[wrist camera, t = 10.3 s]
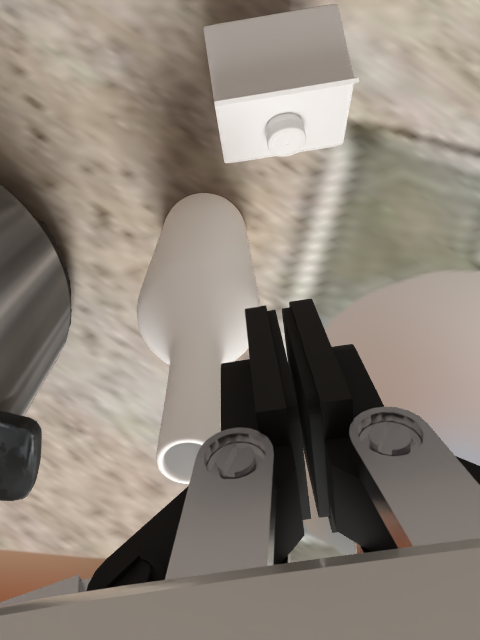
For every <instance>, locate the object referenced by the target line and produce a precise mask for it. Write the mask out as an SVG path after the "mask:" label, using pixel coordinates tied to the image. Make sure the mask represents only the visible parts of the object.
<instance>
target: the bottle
mask: <svg viewBox="0 0 480 640" xmlns="http://www.w3.org/2000/svg"><path fill="white" fill-rule="evenodd" d="M253 307H260V300H259V295H258V290H257V284H256V279H255V274H254V268H253V263H252V258H251V252H250V247H249V242H248V236H247V231H246V226H245V222H244V220H243V217H242V215H241V214H240V212H239V211H238V209H237V208H236V207H235V206H234V205H233V204H232V203H231V202H230V201H228V200H227V199H225V198H223V197H221V196H218V195H215V194H210V193H198V194H193V195H190V196H187V197H185V198H183V199H182V200H180V201H179V202H177V203H176V204H175V205H174V207H173V208H172V209H171V210H170V212H169V214H168V215H167V217H166V220H165V222H164V225H163V228H162V231H161V234H160V237H159V239H158V242H157V245H156V248H155V251H154V254H153V256H152V259H151V262H150V265H149V268H148V271H147V273H146V276H145V279H144V282H143V285H142V288H141V291H140V294H139V298H138V305H137V317H138V326H139V329H140V332H141V335H142V337H143V338H144V340H145V342H146V343H147V345H148V346H149V348H150V349H151V350H152V351H153V352H154V353H155V354H156V356H158V357H159V358H160V359H161V360H163V361H164V362H165V363H167V364H168V365H170V368H169V376H168V383H167V390H166V397H165V403H164V410H163V416H162V422H161V428H160V435H159V441H158V448H157V455H156V460H157V465H158V468H159V470H160V471H161V472H162V474H164V475H165V476H166V477H167V478H169V479H170V480H173V481H175V482H179V483H185V484H189V483H190V479H191V475H192V471H193V467H194V463H195V459H196V455H197V453H198V451H199V449H200V447H201V446H202V445H203V444H204V442H205V441H206V440H207V439H209V438H210V437H212V436H213V435H215V434H216V433H218V432H220V372H221V363H228V362H234V361H235V360H236V359H238V358H239V357H240V356H241V355H242V354H243V353H244V352H245V351H246V350H247V349H248V347H249V346H248V337H247V327H246V318H245V309H247V308H253Z"/></svg>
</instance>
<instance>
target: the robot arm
mask: <svg viewBox="0 0 480 640" xmlns="http://www.w3.org/2000/svg"><path fill="white" fill-rule="evenodd" d="M289 305H290V308H284V309H282V316H283V324H284V332H285V341H286V349H287V357H288V362H287V357H286V353H285V349H284V345H283V340H282V336H281V332H280V328H279V323H278V319H277V315H276V311H275V310H271V311H267V309H266V306H260V307H253V308H247V309H245V318H246V327H247V337H248V346H249V356H250V359H248V360H241V361H235V362H228V363H221V432H218V433H216V434H215V435H213V436H212V437H210V438H209V439H207V440H206V441H205V442H204V444H203V445H202V446H201V447H200V449H199V451H198V453H197V455H196V459H195V463H194V467H193V471H192V475H191V479H190V483H189V486H188V487H187V488H186V489H185V490H184V491H182V492H181V493H180V494H179V495H178V496H177V497H176V498H175V499H173V500H172V501H171V502H170V503H169V504H168V505H167V506H166V507H165V508H163V509H162V510H161V511H160V512H159V513H158V514H157V515H156V516H154V517H153V518H152V519H151V520H150V521H149V522H148V523H147V524H145V525H144V526H143V527H142V528H141V529H140V530H139V531H138V532H136V533H135V534H134V535H133V536H132V537H131V538H130V539H129V540H127V541H126V542H125V543H124V544H123V545H122V546H121V547H120V548H118V549H117V550H116V551H115V552H114V553H113V554H112V555H111V556H109V557H108V558H107V559H106V560H105V561H104V562H103V564H102V565H101V566H100V567H99V568H98V569H97V570H96V571H95V573H94V575H93V577H91V578H88V579H85V580H81V578H80V577H79V575H77V576H74V577H71V578H68V579H65V580H62V581H59V582H57V583H54V584H51V585H48V586H45V587H43V588H40V589H37V590H34V591H32V592H29V593H26V594H23V595H20V596H17V597H15V598H12V599H9V600H6V601H3V602H0V640H480V466H478V465H476V464H473V463H471V462H468V461H466V460H463V459H461V458H459V457H456V456H455V455H454V454H453V453H452V452H451V451H450V450H449V448H448V447H447V446H446V445H445V444H444V442H443V441H442V440H441V439H440V438H439V437H438V435H437V434H436V433H435V432H434V431H433V429H432V428H431V427H430V426H429V425H428V424H427V423H426V422H425V421H424V420H423V419H422V418H421V417H420V416H418V415H416V414H414V413H412V412H410V411H408V410H404V409H400V408H396V407H384V405H383V404H382V401H381V399H380V397H379V395H378V393H377V391H376V389H375V387H374V385H373V383H372V381H371V379H370V377H369V375H368V373H367V371H366V369H365V367H364V365H363V363H362V361H361V359H360V357H359V355H358V352H357V351H356V349H355V347H354V345H352V344H350V345H342V346H335V347H331V345H330V342H329V340H328V337H327V335H326V332H325V330H324V327H323V325H322V323H321V320H320V318H319V315H318V313H317V310H316V308H315V305H314V303H313V301H312V299H306V300H299V301H293V302H290V303H289ZM288 365H289V366H288ZM303 450H304V452H303ZM304 454H305V458H306V463H307V467H308V471H309V476H310V481H311V485H312V489H313V494H314V499H315V503H316V508H317V511H318V516H319V517H327V516H328V517H329V521H330V526H331V530H332V533H334V532H339V533H341V534H343V535H344V536H346V537H348V538H349V539H351V540H353V541H354V544H355V550H356V553H357V554H353V555H345V556H337V557H330V558H322V559H315V560H307V561H300V562H292V563H291V560H290V554H289V553H290V552H291V551H292V550H293V549H294V547H295V546H296V545H297V544H298V542H299V541H300V540H301V539H302V537H303V536H304V528H303V520H305V519H311V514H310V506H309V496H308V487H307V479H306V471H305V461H304Z"/></svg>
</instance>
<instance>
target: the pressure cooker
mask: <svg viewBox="0 0 480 640" xmlns="http://www.w3.org/2000/svg"><path fill="white" fill-rule="evenodd" d="M71 311H72V310H71V290H70V280H69V278H68V273H67V269H66V267H65V264H64V262H63V259H62V256H61V254H60V251H59V248H58V247H57V245H56V243H55V241H54V239H53V237H52V236H51V234H50V232H49V231H48V230H47V228H46V226H45V225H44V223H43V222H40V221H37V220H36V219H34V217H33V216H32V215H31V214H30V213H29V211H28V210H27V209H26V208H25V207H24V206H23V205H22V204H21V203H20V202H19V201H18V200H17V199H16V198H15V197H14V196H13V195H12V194H11V193H10V192H9V191H8V190H6V189H5V188H4V187H3V186H2V185H0V500H1V501H14V500H19V499H23V498H25V497H27V495H28V494H29V493H30V491H31V490H32V488H33V486H34V484H35V481H36V478H37V474H38V470H39V464H40V458H41V438H42V434H41V428H40V426H39V424H38V423H37V422H36V421H35V420H33V419H31V418H29V417H25V416H24V415H25V413H26V412H27V410H28V408H29V407H30V405H31V403H32V401H33V400H34V398H35V396H36V394H37V393H38V391H39V389H40V388H41V386H42V384H43V382H44V381H45V379H46V377H47V376H48V374H49V372H50V370H51V369H52V367H53V365H54V364H55V362H56V360H57V359H58V357H59V355H60V353H61V351H62V349H63V347H64V344H65V342H66V339H67V335H68V331H69V327H70V324H71Z"/></svg>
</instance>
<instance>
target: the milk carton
mask: <svg viewBox="0 0 480 640" xmlns="http://www.w3.org/2000/svg"><path fill="white" fill-rule="evenodd" d="M203 29H204V36H205V43H206V50H207V57H208V63H209V70H210V77H211V84H212V91H213V98H214V105H215V110H216V116H217V122H218V128H219V134H220V140H221V146H222V151H223V157H224V163H234V162H241V161H248V160H254V159H260V158H267V157H273V156H290V155H293V154H295V153H298V152H304V151H310V150H316V149H322V148H328V147H334V146H338V145H341V144H343V140H344V135H345V129H346V124H347V118H348V113H349V107H350V102H351V96H352V90H353V85H354V83H358V82H359V78H354V76H353V71H352V67H351V62H350V58H349V54H348V49H347V45H346V40H345V36H344V31H343V27H342V22H341V18H340V14H339V9H338V5H337V4H332V5H325V6H319V7H313V8H307V9H301V10H295V11H289V12H283V13H277V14H272V15H266V16H260V17H254V18H248V19H242V20H236V21H231V22H225V23H219V24H214V25H209V26H205V27H203Z"/></svg>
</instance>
